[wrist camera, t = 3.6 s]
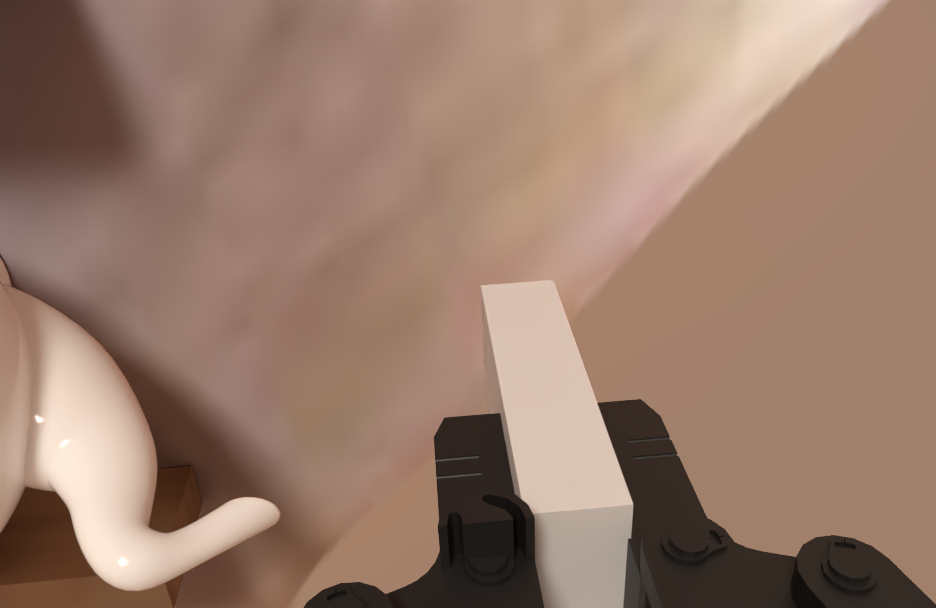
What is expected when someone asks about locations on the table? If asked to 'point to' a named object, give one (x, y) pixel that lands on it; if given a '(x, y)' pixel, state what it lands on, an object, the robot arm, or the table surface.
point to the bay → (60, 557)
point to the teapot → (95, 451)
